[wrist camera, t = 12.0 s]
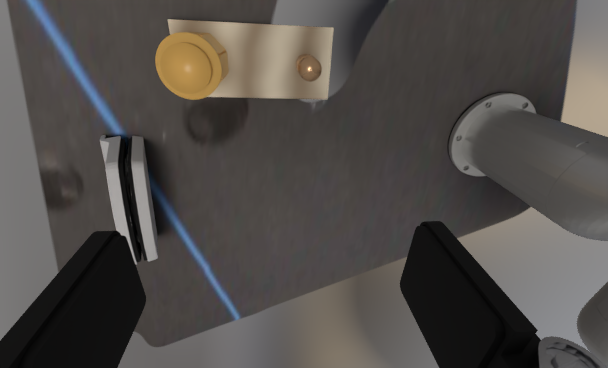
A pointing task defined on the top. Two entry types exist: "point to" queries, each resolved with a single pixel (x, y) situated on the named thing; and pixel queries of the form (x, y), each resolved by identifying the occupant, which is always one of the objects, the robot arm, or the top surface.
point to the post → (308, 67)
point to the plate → (266, 58)
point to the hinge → (139, 212)
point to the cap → (191, 64)
